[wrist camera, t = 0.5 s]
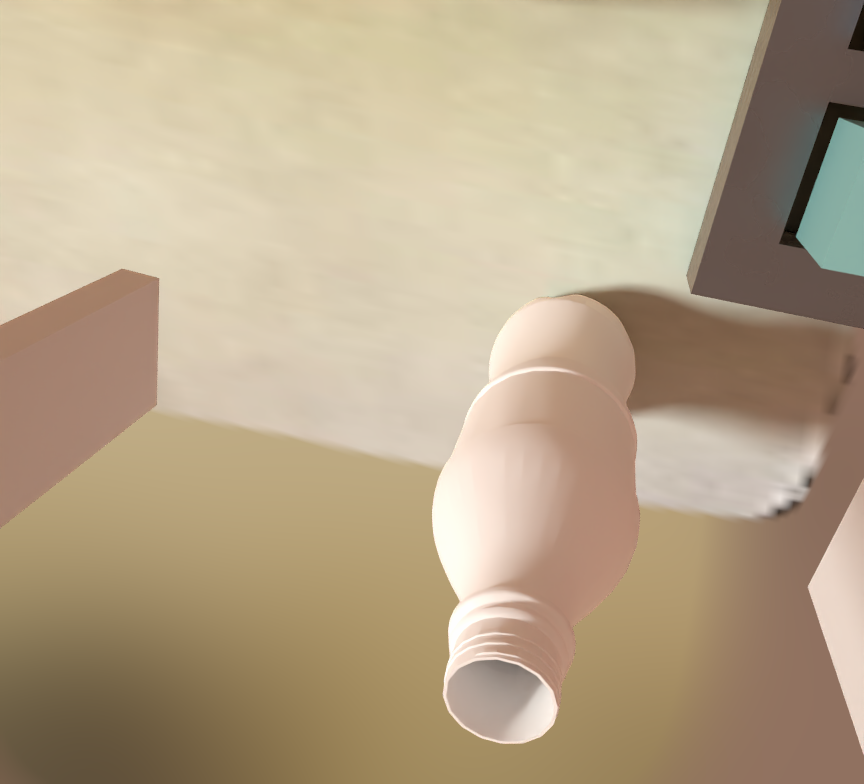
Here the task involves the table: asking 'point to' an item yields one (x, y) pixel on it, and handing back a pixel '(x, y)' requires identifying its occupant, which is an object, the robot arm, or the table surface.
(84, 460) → the robot arm
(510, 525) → the water bottle
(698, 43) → the table surface
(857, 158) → the teal cube
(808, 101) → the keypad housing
